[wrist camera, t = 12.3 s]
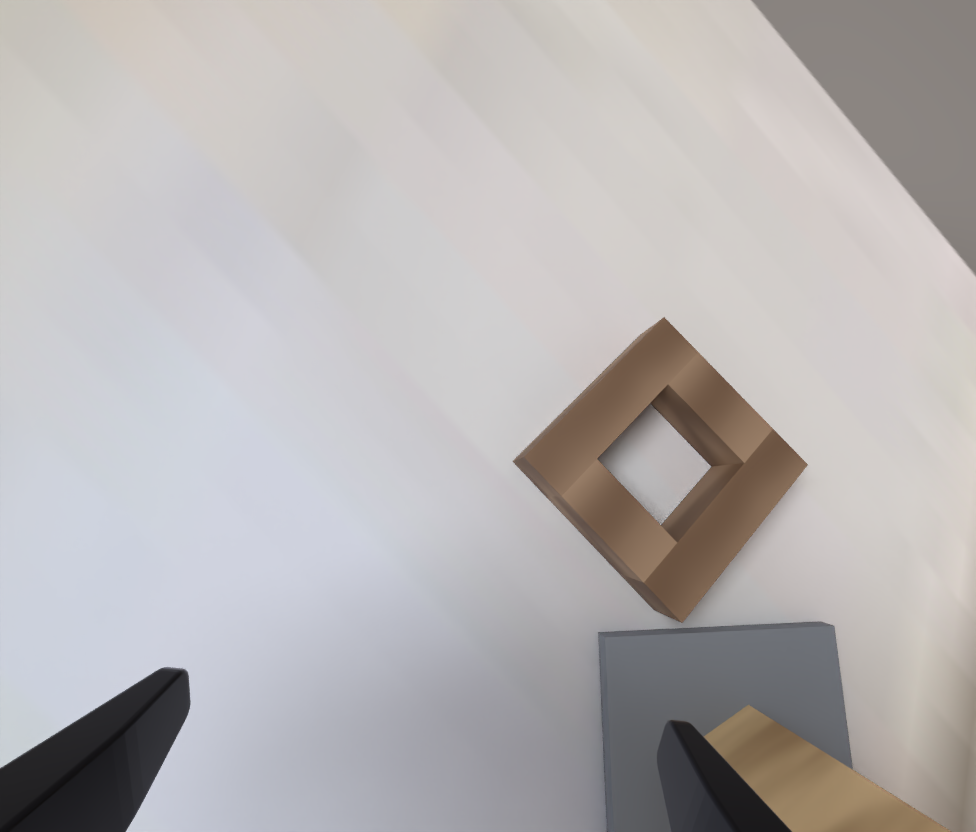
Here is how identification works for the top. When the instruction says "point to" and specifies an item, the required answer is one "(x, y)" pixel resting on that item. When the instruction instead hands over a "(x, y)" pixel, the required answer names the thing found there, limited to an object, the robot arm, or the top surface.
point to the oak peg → (809, 781)
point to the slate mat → (709, 699)
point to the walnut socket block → (709, 505)
